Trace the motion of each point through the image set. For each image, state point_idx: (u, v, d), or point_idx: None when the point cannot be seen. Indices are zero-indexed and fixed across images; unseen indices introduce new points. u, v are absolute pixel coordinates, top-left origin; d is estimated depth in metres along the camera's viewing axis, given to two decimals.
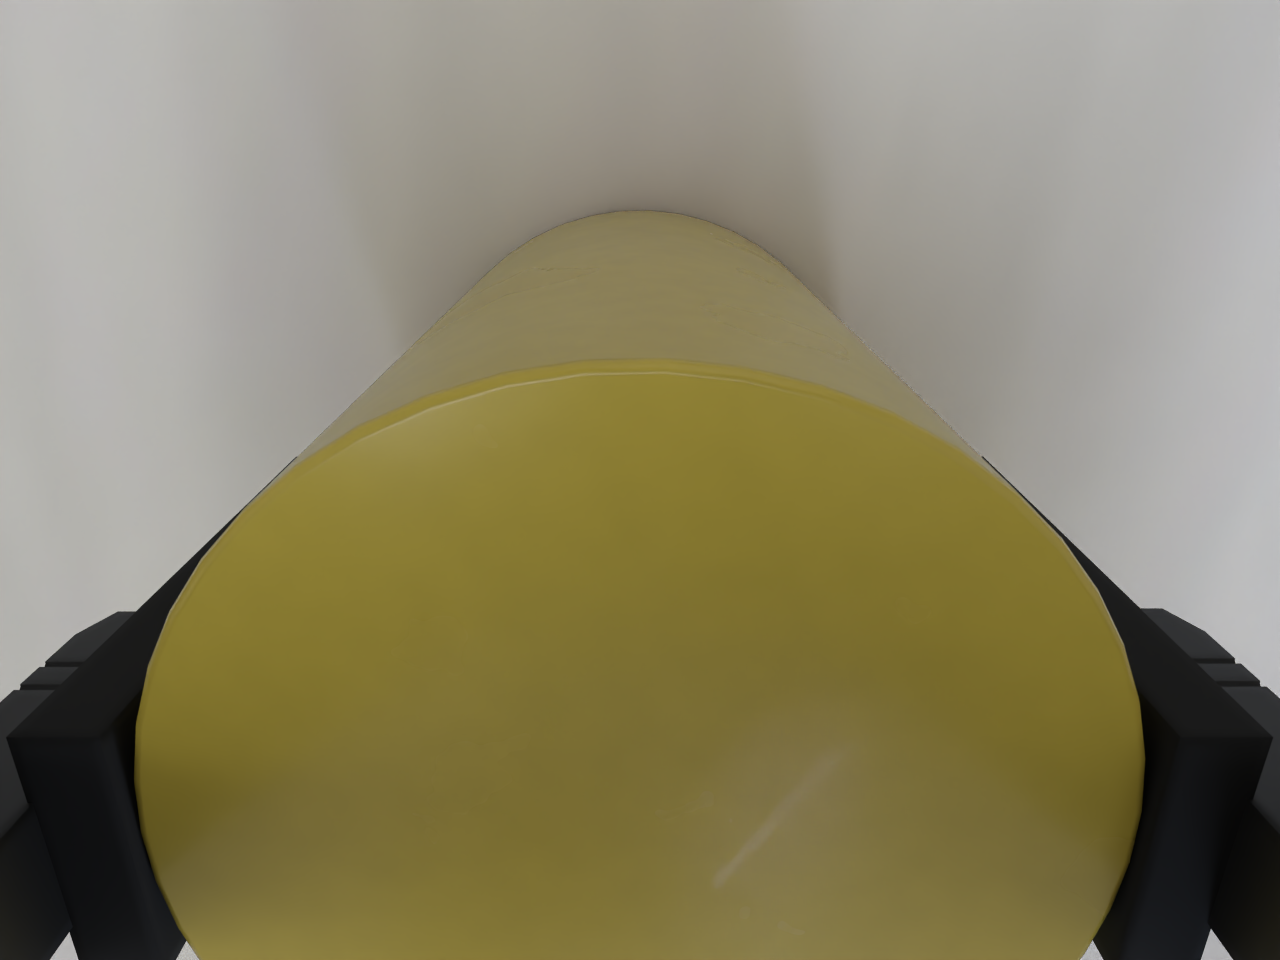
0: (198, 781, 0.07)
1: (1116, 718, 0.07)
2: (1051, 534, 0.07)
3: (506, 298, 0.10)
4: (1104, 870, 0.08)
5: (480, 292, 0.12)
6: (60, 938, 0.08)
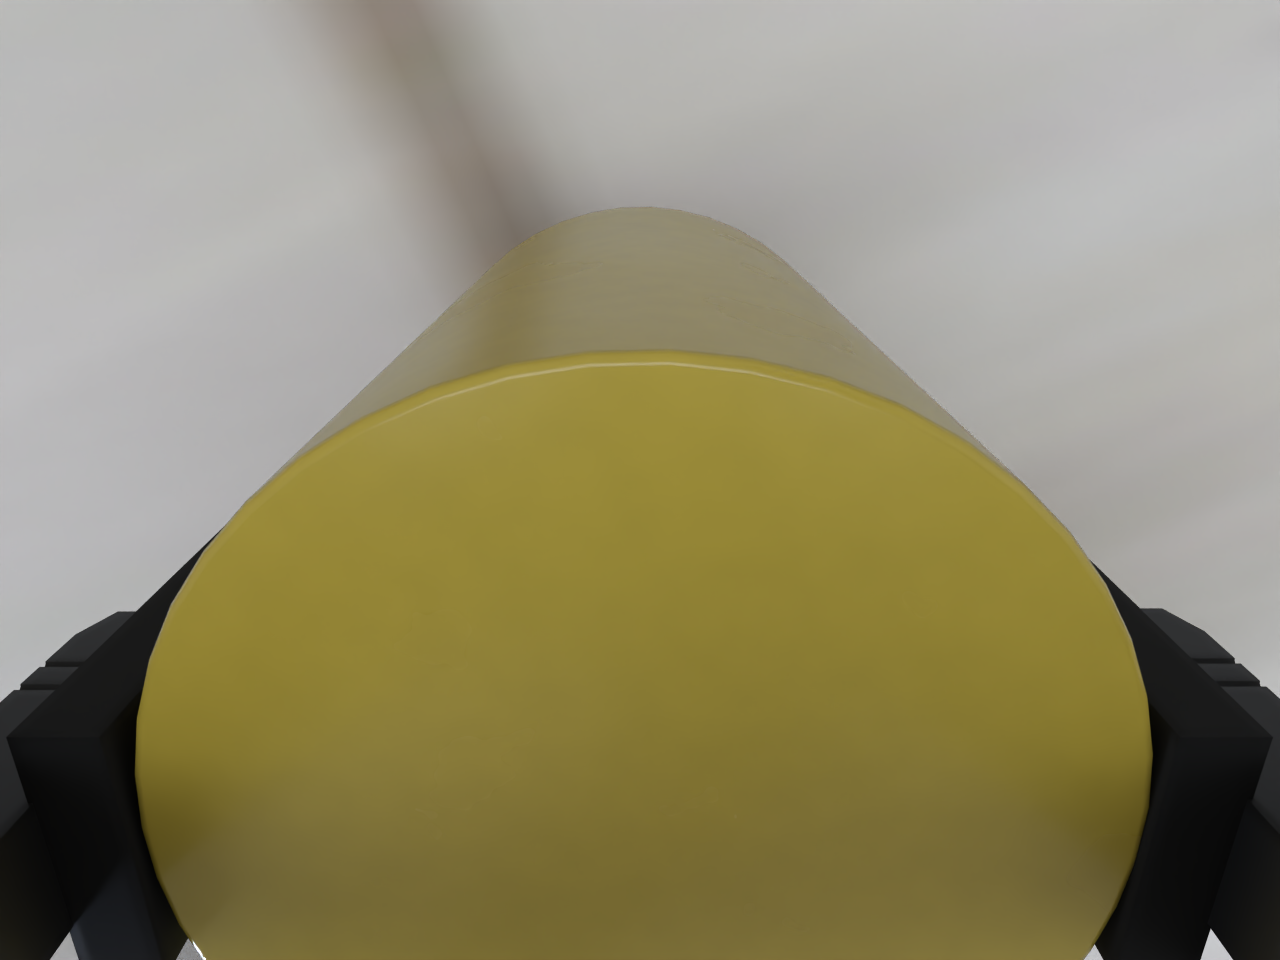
0: (200, 777, 0.07)
1: (1124, 713, 0.07)
2: (1059, 527, 0.07)
3: (509, 292, 0.10)
4: (1111, 866, 0.08)
5: (482, 287, 0.12)
6: (60, 938, 0.08)
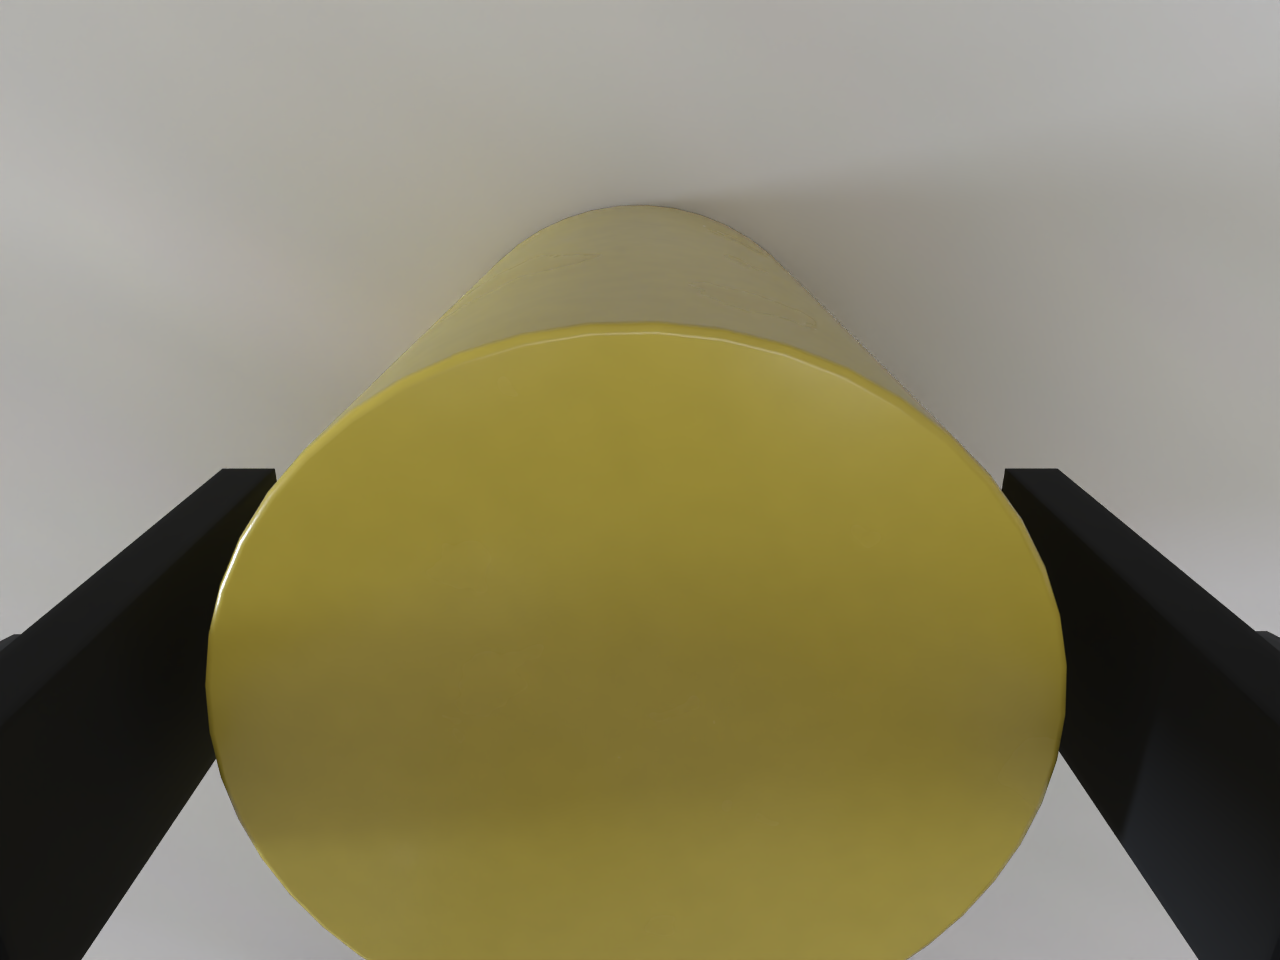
0: (260, 687, 0.09)
1: (1040, 631, 0.08)
2: (980, 470, 0.08)
3: (519, 279, 0.11)
4: (1035, 767, 0.09)
5: (494, 277, 0.13)
6: None
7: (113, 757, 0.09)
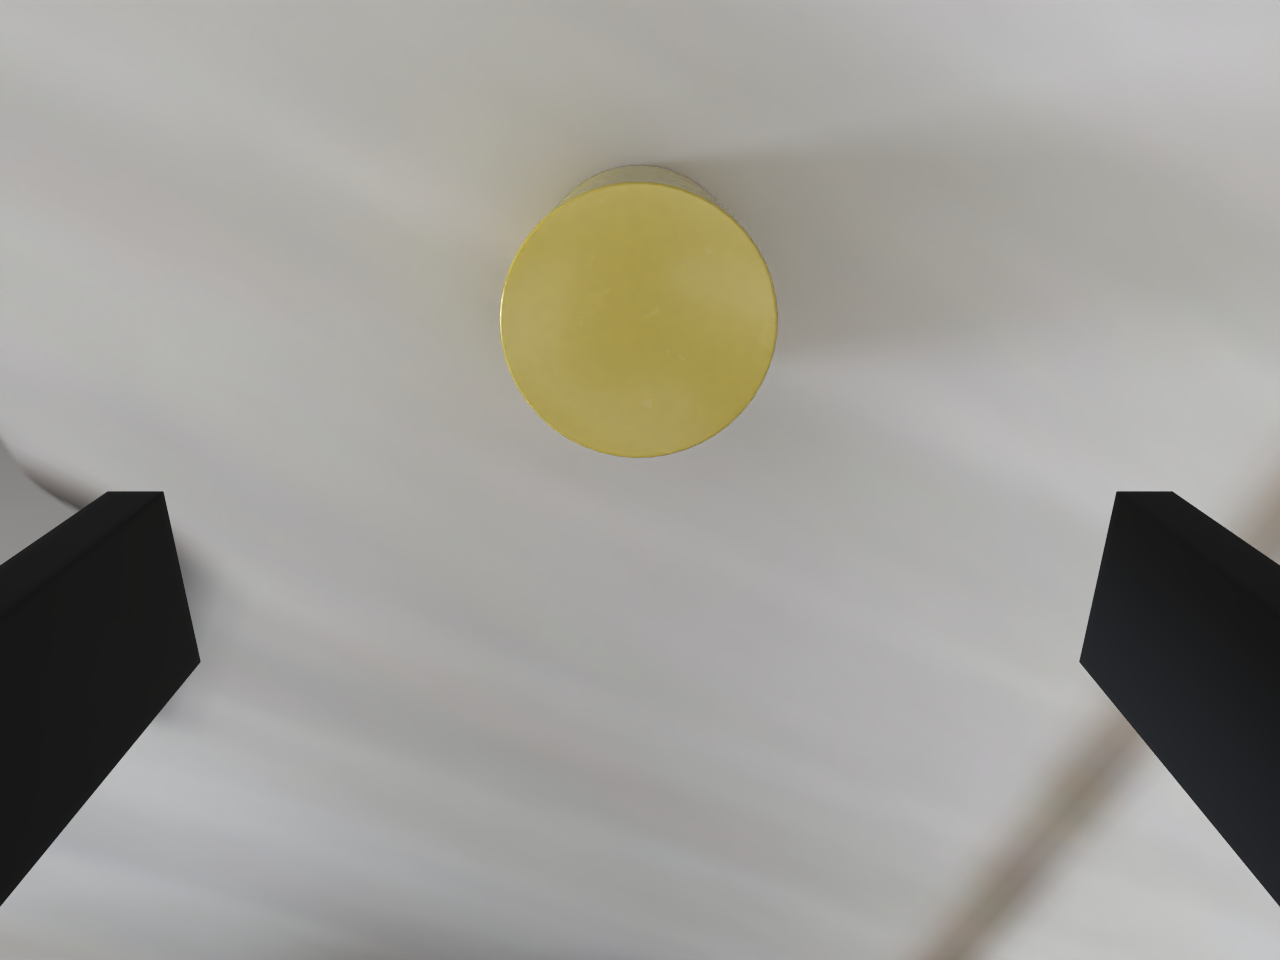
0: (518, 304, 0.27)
1: (765, 283, 0.27)
2: (741, 228, 0.27)
3: (595, 182, 0.30)
4: (769, 335, 0.28)
5: (580, 188, 0.32)
6: None
7: None
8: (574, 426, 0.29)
